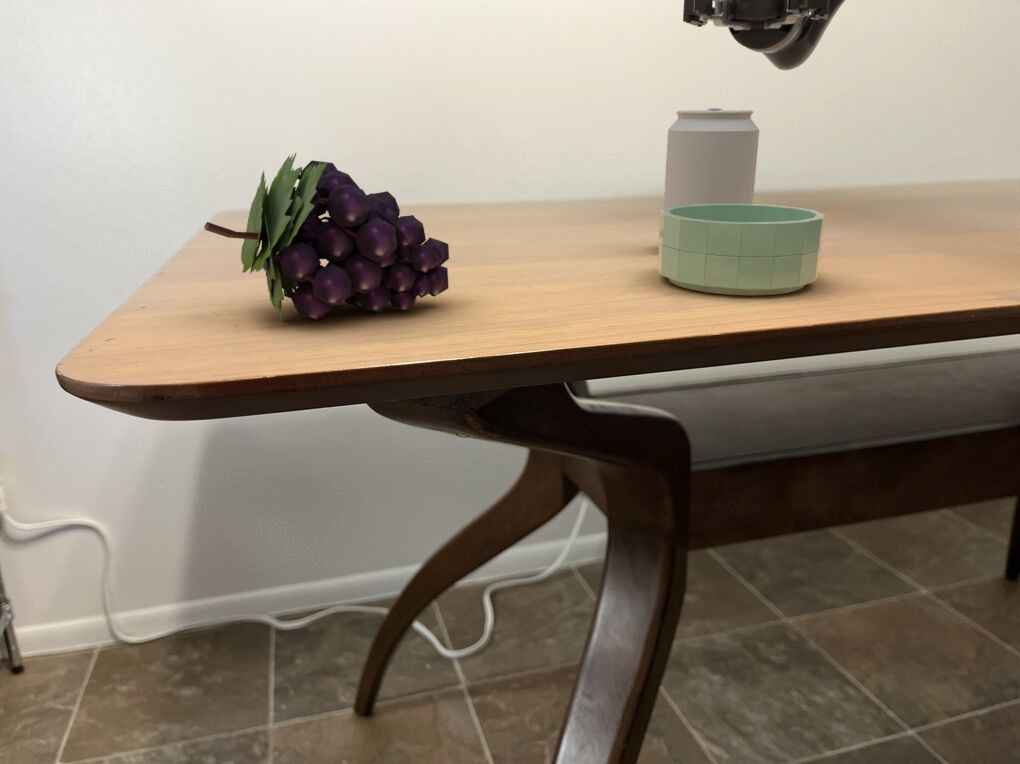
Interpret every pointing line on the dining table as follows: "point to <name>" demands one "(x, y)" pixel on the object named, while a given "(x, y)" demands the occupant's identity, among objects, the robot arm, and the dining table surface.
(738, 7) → the robot arm
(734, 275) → the bowl
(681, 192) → the can
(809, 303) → the dining table surface
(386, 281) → the fruit
